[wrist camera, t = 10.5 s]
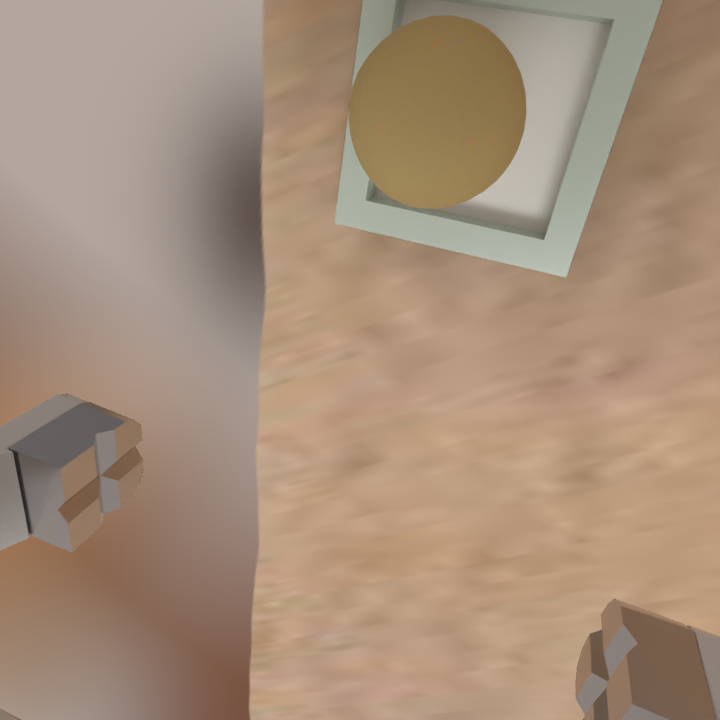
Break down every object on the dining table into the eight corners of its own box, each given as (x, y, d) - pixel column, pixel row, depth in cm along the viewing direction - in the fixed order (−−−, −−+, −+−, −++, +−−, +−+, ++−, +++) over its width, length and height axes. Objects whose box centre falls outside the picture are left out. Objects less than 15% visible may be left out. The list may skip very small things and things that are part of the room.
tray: (659, -11, 22) (670, -22, 20) (564, 265, 28) (565, 277, 26) (383, -46, 24) (370, -58, 23) (347, 215, 30) (334, 223, 28)
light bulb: (539, 154, 26) (555, 177, 17) (415, 205, 28) (372, 248, 19) (496, 12, 24) (490, -46, 15) (368, 80, 26) (296, 63, 17)
